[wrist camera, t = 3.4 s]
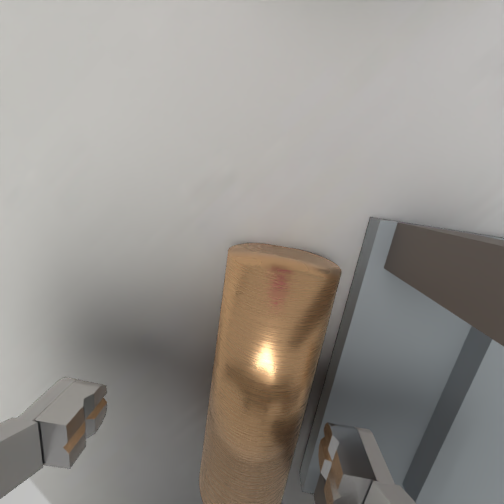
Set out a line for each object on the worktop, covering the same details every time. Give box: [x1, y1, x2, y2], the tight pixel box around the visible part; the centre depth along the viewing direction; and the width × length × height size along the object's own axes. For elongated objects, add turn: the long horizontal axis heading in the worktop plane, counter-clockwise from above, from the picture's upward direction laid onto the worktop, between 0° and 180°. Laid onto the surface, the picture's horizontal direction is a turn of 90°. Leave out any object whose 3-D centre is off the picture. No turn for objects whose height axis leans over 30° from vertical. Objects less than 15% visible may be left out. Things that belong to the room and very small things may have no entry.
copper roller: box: [199, 243, 342, 504], centre depth 11 cm, size 12×4×4 cm
